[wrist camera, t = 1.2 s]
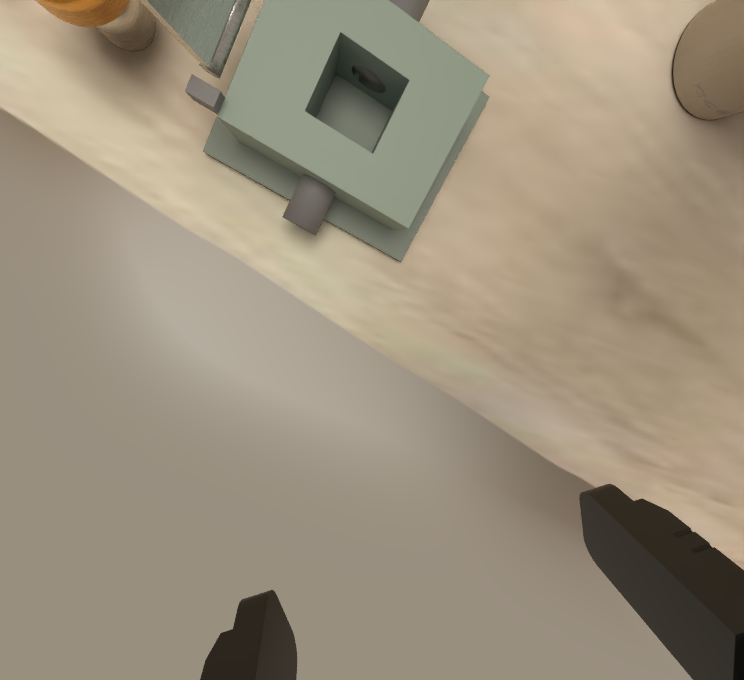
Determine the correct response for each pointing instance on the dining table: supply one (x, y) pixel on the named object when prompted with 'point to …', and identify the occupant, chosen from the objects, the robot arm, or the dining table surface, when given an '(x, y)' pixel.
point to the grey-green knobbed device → (347, 114)
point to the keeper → (202, 27)
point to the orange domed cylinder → (109, 19)
